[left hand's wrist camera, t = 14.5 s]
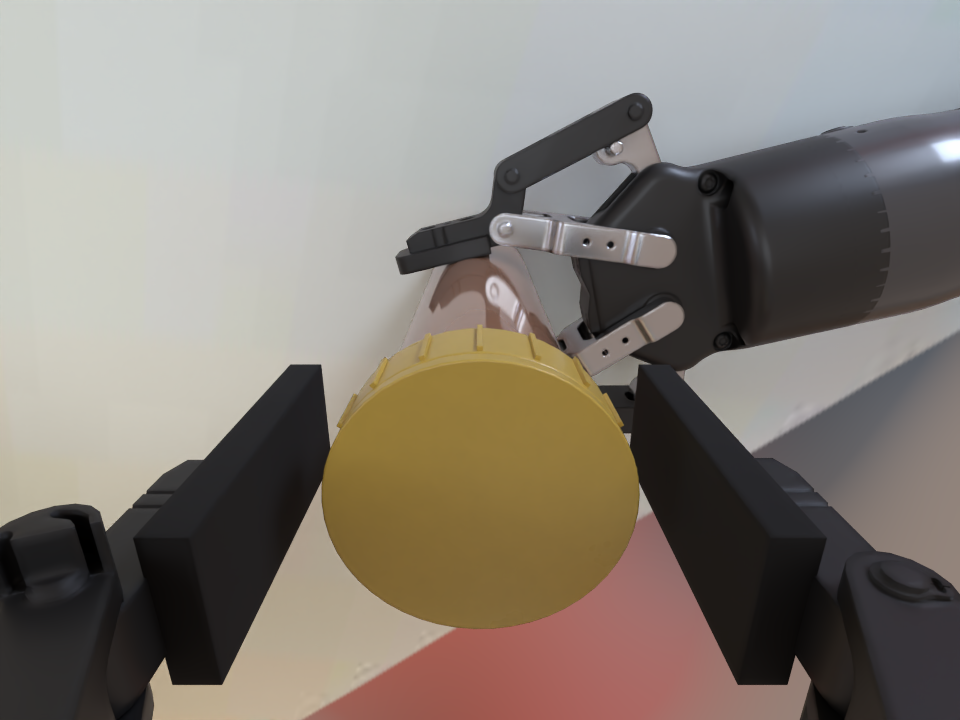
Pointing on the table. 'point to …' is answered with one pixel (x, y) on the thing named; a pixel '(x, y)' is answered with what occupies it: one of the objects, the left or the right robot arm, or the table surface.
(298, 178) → the table surface
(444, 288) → the brown cylinder
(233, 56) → the table surface
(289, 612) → the table surface
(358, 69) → the table surface
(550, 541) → the lid
